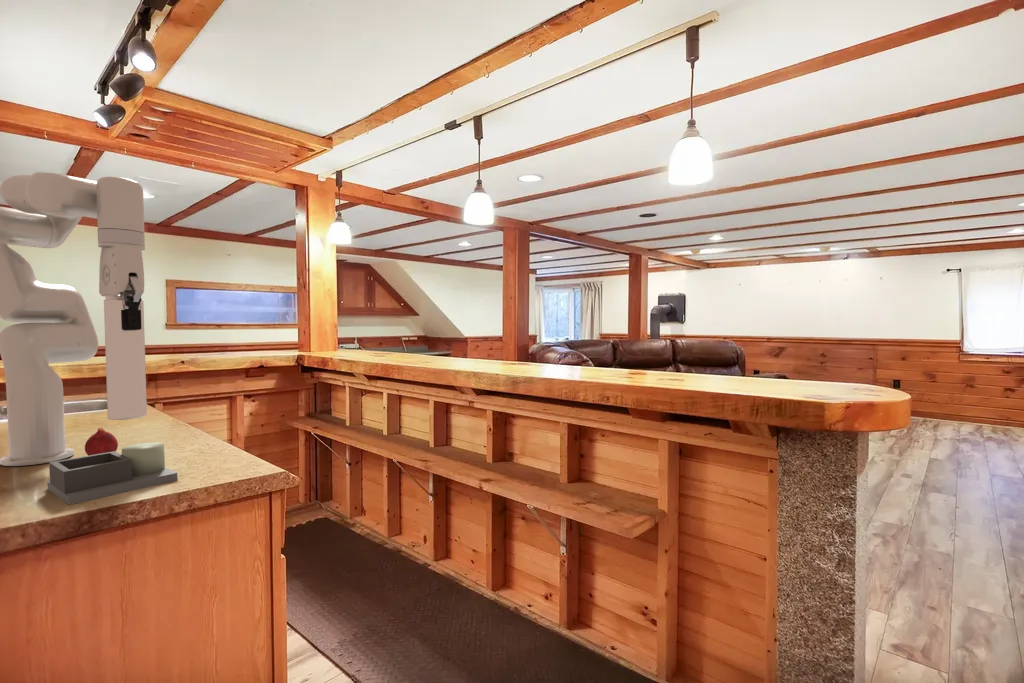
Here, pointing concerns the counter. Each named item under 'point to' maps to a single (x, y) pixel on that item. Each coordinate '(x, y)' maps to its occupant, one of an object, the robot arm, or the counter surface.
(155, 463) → the grey desk organizer
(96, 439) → the onion
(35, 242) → the robot arm
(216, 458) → the counter surface
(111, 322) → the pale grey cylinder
